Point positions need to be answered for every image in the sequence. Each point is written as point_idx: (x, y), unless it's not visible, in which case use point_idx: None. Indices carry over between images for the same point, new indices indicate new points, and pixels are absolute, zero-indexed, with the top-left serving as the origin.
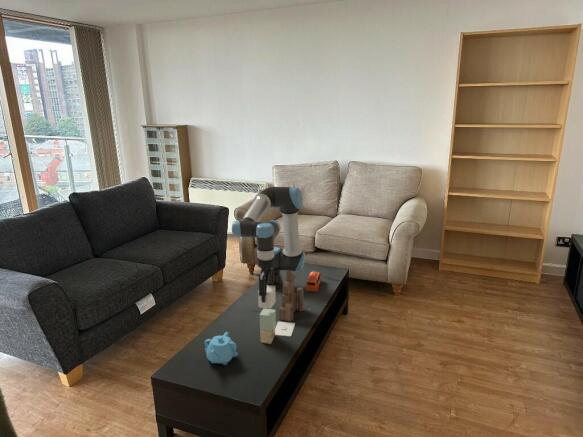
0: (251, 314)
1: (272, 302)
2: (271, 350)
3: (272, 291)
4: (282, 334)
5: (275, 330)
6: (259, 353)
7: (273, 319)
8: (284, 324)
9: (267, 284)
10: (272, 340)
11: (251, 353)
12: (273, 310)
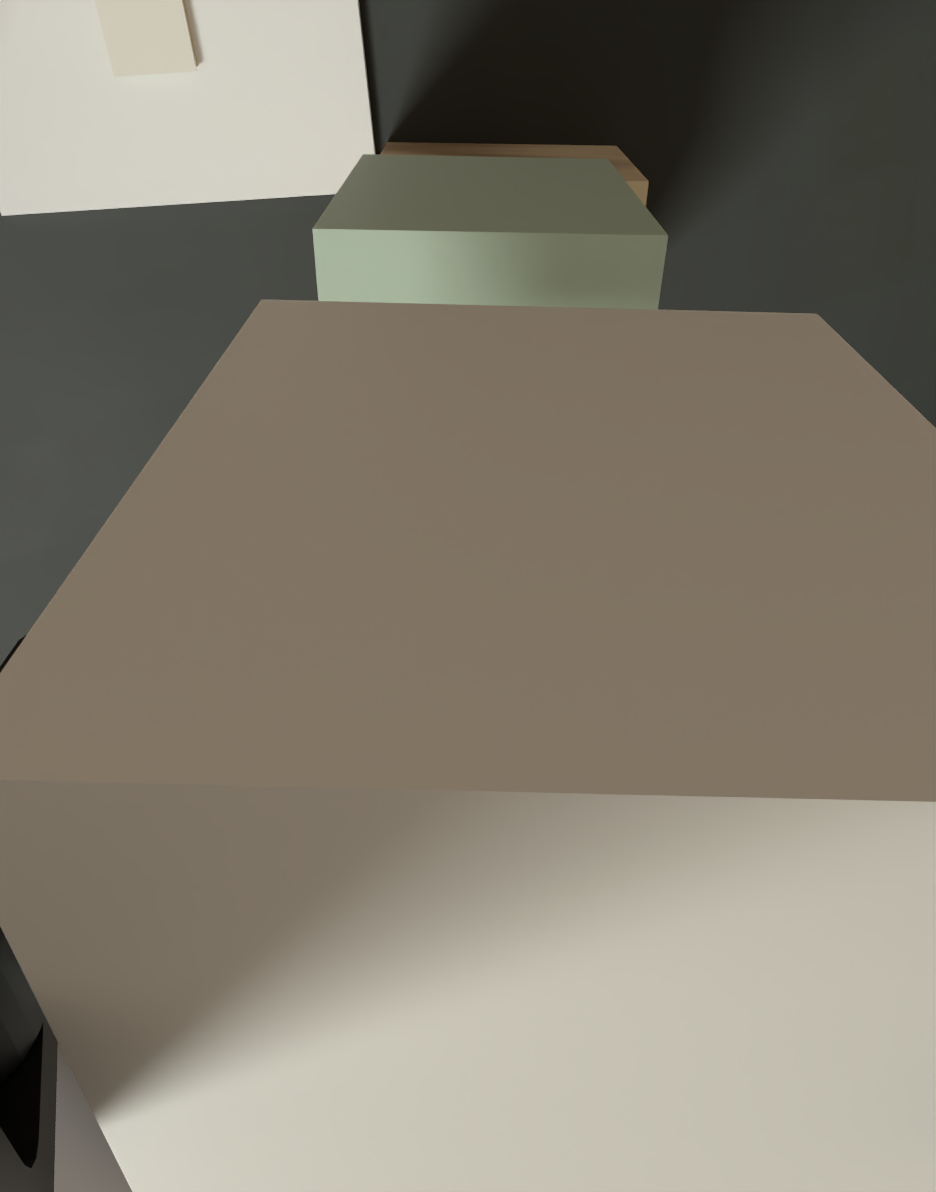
0: (20, 612)
1: (646, 361)
2: (795, 77)
3: (724, 688)
4: (334, 9)
5: (260, 178)
6: (868, 243)
7: (516, 196)
8: (27, 67)
9: (44, 1155)
10: (531, 145)
11: (863, 350)
12: (362, 277)
